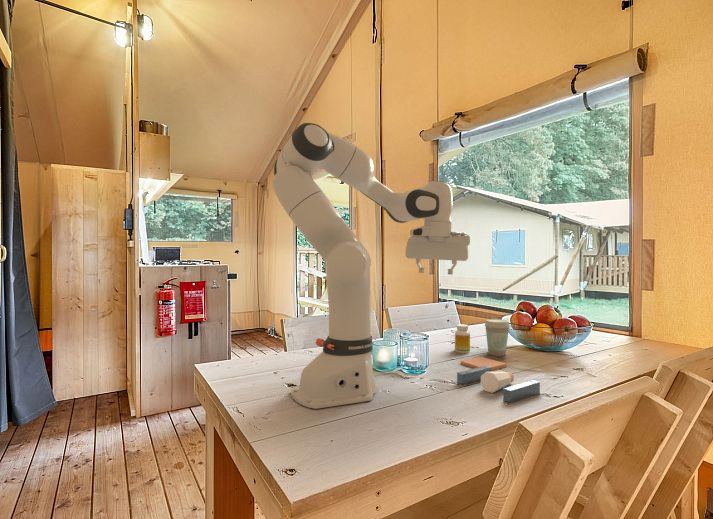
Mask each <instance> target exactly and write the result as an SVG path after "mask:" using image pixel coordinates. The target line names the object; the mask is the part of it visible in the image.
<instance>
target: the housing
mask: <svg viewBox="0 0 713 519" xmlns="http://www.w3.org/2000/svg"><path fill="white" fill-rule="evenodd" d="M485 372H492V371H491V367H488V366H483V367H478V368H471V369H467V370H462V371H458V372H456V374H457V375H456V382H457V384H458V385H461V386H465V385H469V384H472V383H477V382H481V376H482V375H483V374H484V373H485ZM502 389H503V391H502V392H503V393H502V395H503V398H502V399H503V400H502V401H503V402H506V403H509V404H512V403H515V402H518V401H521V400H525V399H528V398H530V397H534V396H538V395H540V394H541V392H540V391H541V383H540V381H538V380H535V379H532V380H528V381H524V382H521V383H518V384H514V385H510V386H508V387H507V386H506V387H503V388H502Z"/></svg>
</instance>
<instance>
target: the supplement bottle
mask: <svg viewBox="0 0 713 519" xmlns="http://www.w3.org/2000/svg"><path fill="white" fill-rule="evenodd" d="M470 333H471V332H470V331H469V325H468V324H463V323H462V324H459V323H458V324H456V330H455V331H454V351H455V352H456V353H459V354H468V352H469V353H470V352H471V334H470Z"/></svg>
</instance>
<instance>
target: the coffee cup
mask: <svg viewBox="0 0 713 519" xmlns="http://www.w3.org/2000/svg"><path fill="white" fill-rule="evenodd" d="M484 327H485V334H486V343H487V351H488V352H487V353H488V354H489V355H491V356H497V357H499V356H500V357H502V356H505V355H506V354H507V348H508V337H509V330H510V328H511V327H510V323H509V321H508V320H506V319H502V318H489V319H486V320H485V322H484Z"/></svg>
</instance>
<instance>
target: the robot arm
mask: <svg viewBox="0 0 713 519" xmlns="http://www.w3.org/2000/svg"><path fill="white" fill-rule="evenodd" d="M326 130H327V129H325V128H324V127H322V126H320V125H319V124H316V123H312V122H303V123H302V124H300V125H298V127H296V128H295V130H294V131H293V132H292V134H291V136H290V138H289V139H288V140H287V141H286V143H285V144H284V145H283V147H282V148H281V151H280V153H279V155H278V157H277V159H276V161H275V162H274V167H273V177H272V178H273V179H272V182H271V183H272V184H271V185H272V190H273V192H274V193H275V196H276V197H277V198H276V199H278V202H279V203H280V205H281V207H282V208H283V210H284V211H285V212H286V214H287V215H288V217H289V218H290V220H291V221H292V223H293V224H294V225H295V227H296V228H297V230H298V231H299V232H300V233H301V234H302V236H303V238H305V240H306V241H307V242H308V243H309V245H310V246H311V247H313V249H314V250H315V251H316V252H317V253H318V254H319V256H321V258H322V259H323V261H324V262H325V273H326V274H325V275H326V289H327V300H328V336H327V337H326V339H325V340H324V339H322V338H320V337H318V338H316V340H315V345H316V346H317V347H320V348H322V351H321V352H320V353H319V354H318V355H317V356H316V357H315V358H314V359H313V360H311V362H309V363H308V364H307V365H306V366H305V367H304V368H303V369H302V371H301V375H300V378H299V385H298V386H294V387H292V388H291V392H290V396H291V398H292V399H293V400H294V401H295V402H297V403H298V404H300V405H301V406H304V407H306V408H309V409H315V410H317V409H322V408H323V409H324V408H329V407H337V406H343V405H350V404H356V403H357V404H358V403H364V402H368V401H372V400H373V397H374V396H373V395H375V394H376V392H377V391H378V388H377V384H376V381H375V375H374V370H373V360H372V352H373V336H372V335H371V334H372V333H371V331H372V330H371V329H372V328H371V327H372V326H371V325H372V324H371V322H372V321H371V317H372V315H371V314H372V313H371V312H372V311H371V310H372V309H371V308H372V307H371V306H372V304H371V265H372V261H371V260H372V259H371V255H370V254H369V252H368V250H367V248H366V247H365V246H364V245H363V243H362V242H361V240H359V238H358V237H357V235H356V234H355V233H354V231H353V230H352V229H351V227H350V226H349V224H347V221H345V220H344V218H343V216H342V215H341V214H340V212H339V211H338V210H337V209H336V208H335V205H333V203H332V202H331V200H330V199H329V198H328V196H326V194H325V193H324V191H323V190H322V189H321V187H320V186H319V185H318V184H317V183H316V182H315V180H314V179H313V175H315V174H316V172H318V171H319V170H324V171H326V173H328V174H330V175H331V176H332V177H334V178H336V179H338V180H339V181H340V182H342V183H345V184H346V185H348V186H350V187H351V188H353V189H355V190H357V191H358V192H360V194H362V195H363V196H365V197H367V198H368V199H370V200H371V201H373V202H374V203H376V204H377V205H378V206H380V207H381V208H382V209H383V210H384V211H385V212H386V214H387V215H388V217H390V218H391V220H393V221H394V222H395V223H399V224H404V223H408V222H412V221H418V220H423V221H424V222H423V226H420V227H416V228H411V230H409V236H410V237H409V238H408V239H407V241H406V245H405V246H406V247H405V257H406V258H407V259H410V260H411V259H412V260H414V259H415V264H416V265H417V267H418V273H419V274H425V267H422V265H421V263H422V260H433V261H434V260H435V261H436V260H437V261H438V260H439V261H451V264H452V265H451V267H450V268H447V275H449V276H451V275H452V276H453V274H454V270H455V267H457V264H458V263H457V262H458V261H459V262H460V261H461V262H462V261H463V262H467V261H468V260H469V246H470V243H471V238H470V237H471V236H470V235H469V234H468V233H466V232H464V231H461V232H458V231H452V219H451V218H452V216H451V215H452V212H453V191H452V187H451V186H450V184H449V183H447V182H444V181H441V180H433V181H429V182H428V183H427V184H425V185H423V186H421V187H418V188H415V189H412V190H409V191H405V192H396V191H394V190H391V189H390V188H389V187H388V186H386V185H385V184H383V183H382V182H380V181H379V180H377V178H376V177H375V175H374V171H375V166H374V165H375V164H374V162H373V159H372V157H371V156H369V154H368V153H366V152H365V151H364V150H363V149H361V148H360V147H358V146H356V145H355V144H354V143H351V142H350V141H348V140H346V139H344V138H342V137H340V136H338V135H336V134H333V133H330V132H328V131H326Z"/></svg>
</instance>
